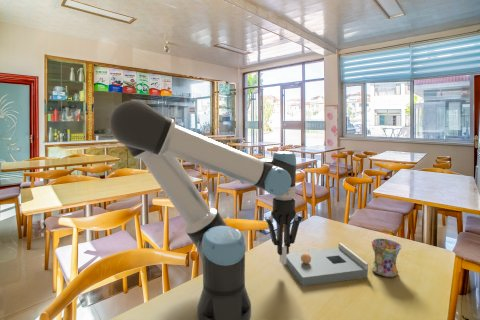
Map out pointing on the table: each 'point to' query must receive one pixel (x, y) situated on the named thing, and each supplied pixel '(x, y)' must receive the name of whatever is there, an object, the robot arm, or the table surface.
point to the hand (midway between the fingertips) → (282, 262)
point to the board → (327, 266)
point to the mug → (385, 257)
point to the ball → (305, 258)
